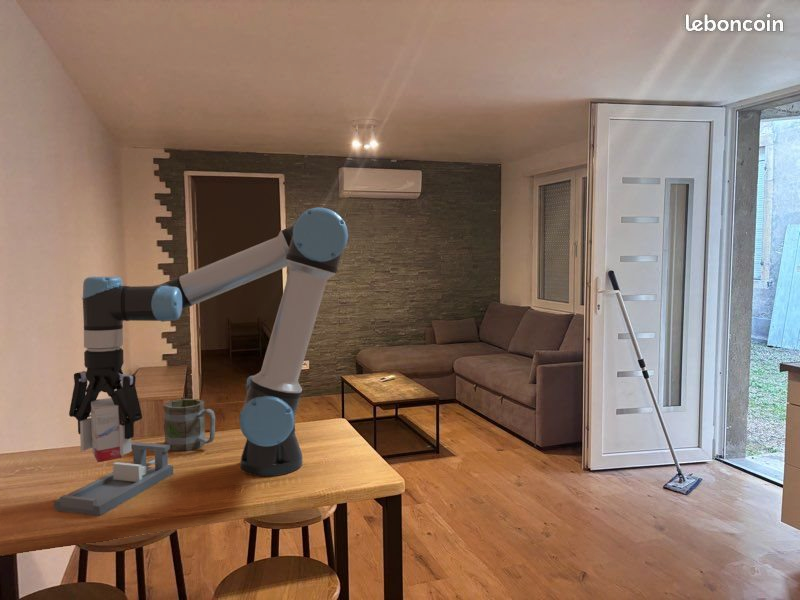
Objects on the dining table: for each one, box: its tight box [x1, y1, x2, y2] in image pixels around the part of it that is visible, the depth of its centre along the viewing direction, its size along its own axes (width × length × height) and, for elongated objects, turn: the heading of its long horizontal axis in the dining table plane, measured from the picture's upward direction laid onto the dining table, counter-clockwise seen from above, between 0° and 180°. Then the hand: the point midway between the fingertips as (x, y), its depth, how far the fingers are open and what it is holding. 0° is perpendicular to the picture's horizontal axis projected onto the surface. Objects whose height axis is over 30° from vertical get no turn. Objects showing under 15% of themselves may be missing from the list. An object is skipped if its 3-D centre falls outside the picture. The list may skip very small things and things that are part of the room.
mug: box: [162, 398, 216, 453], centre depth 161 cm, size 16×11×12 cm
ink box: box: [90, 397, 123, 463], centre depth 127 cm, size 9×5×12 cm, turn 33°
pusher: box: [112, 458, 155, 482], centre depth 139 cm, size 7×12×4 cm, turn 166°
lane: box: [53, 441, 174, 517], centre depth 130 cm, size 11×24×7 cm, turn 166°
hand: (106, 450), depth 127 cm, fingers closed on ink box, 9 cm apart
